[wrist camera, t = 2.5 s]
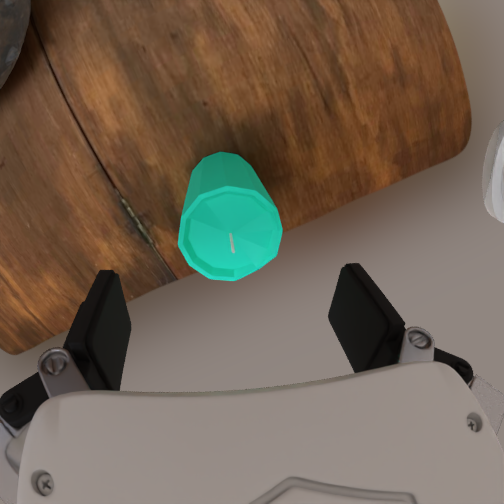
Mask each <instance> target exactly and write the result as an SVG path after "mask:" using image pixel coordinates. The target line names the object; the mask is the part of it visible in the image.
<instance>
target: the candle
mask: <svg viewBox="0 0 504 504" xmlns="http://www.w3.org/2000/svg"><path fill="white" fill-rule="evenodd" d="M282 232H283V229H282V225H281V222H280V218H279V214H278V210H277V208H276V206H275V204H274V203H273V201H272V199H271V198H270V196H269V194H268V193H267V191H266V189H265V188H264V186H263V184H262V183H261V181H260V179H259V178H258V176H257V174H256V173H255V171H254V169H253V168H252V166H251V165H250V164H249V163H247V162H246V161H245V160H244V159H243V158H242V157H240V156H239V155H238V154H232V153H226V152H218V153H215V154H212V155H209V156H207V157H204V158H203V159H202V160H201V161H200V162H199V164H198V165H197V166H196V167H195V168H194V170H193V171H192V174H191V178H190V182H189V186H188V190H187V194H186V198H185V203H184V207H183V211H182V216H181V222H180V230H179V239H178V246H179V248H180V250H181V252H182V253H183V255H184V257H185V259H186V261H187V262H188V264H189V266H191V267H192V268H194V269H195V270H197V271H198V272H200V273H201V274H203V275H204V276H206V277H207V278H209V279H214V280H215V279H216V280H228V281H236V280H238V279H240V278H242V277H245V276H247V275H249V274H251V273H253V272H255V271H257V270H259V269H260V268H261V267H263V266H264V265H265V264H267V263H268V262H269V261H271V260H272V259H273V258H274V257H276V256H277V253H278V249H279V244H280V240H281V236H282Z"/></svg>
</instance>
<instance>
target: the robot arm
mask: <svg viewBox="0 0 504 504" xmlns="http://www.w3.org/2000/svg"><path fill="white" fill-rule="evenodd" d="M501 191H502V198H503V202H504V167H503V172H502V181H501ZM328 318H329V321H330V324H331V325H332V328H333V330H334V332H335V333H336V336H337V338H338V340H339V342H340V344H341V346H342V348H343V350H344V352H345V354H346V356H347V358H348V360H349V362H350V364H351V366H352V368H353V370H354V372H355V373H354V374H349V375H345V376H339V377H335V378H329V379H324V380H317V381H311V382H305V383H298V384H292V385H283V386H275V387H266V388H257V389H245V390H234V391H233V390H232V391H214V392H131V391H120V385H121V379H122V373H123V367H124V362H125V357H126V351H127V347H128V342H129V337H130V333H131V321H130V317H129V314H128V310H127V306H126V303H125V299H124V295H123V291H122V287H121V282H120V278H119V275H118V274H117V273H115V272H114V271H113V270H100V271H99V272H98V274H97V277H96V279H95V281H94V283H93V285H92V287H91V289H90V291H89V293H88V295H87V298H86V300H85V301H84V302H82V304H81V305H80V307H79V310H78V312H77V314H76V316H75V319H74V321H73V323H72V326H71V328H70V331H69V333H68V336H67V338H66V341H65V343H64V346H63V348H60V347H55V348H51V349H48V350H47V351H46V352H44V353H43V354H42V355H41V356H40V359H39V361H38V365H37V367H38V372H37V373H35V374H34V375H32V376H31V377H29V378H27V379H26V380H24V381H22V382H21V383H19V384H18V385H16V386H14V387H13V388H11V389H9V390H8V391H6V392H5V393H4V394H3V395H2V396H1V398H0V498H1V499H2V501H3V502H4V503H5V504H504V452H503V449H502V447H501V445H500V442H499V440H498V438H497V433H498V431H499V428H500V425H501V422H502V419H503V416H504V395H503V394H502V393H501V392H500V391H499V390H497V389H496V388H494V387H493V386H492V385H490V384H489V383H488V382H486V381H485V380H484V379H482V378H481V377H479V376H478V375H475V377H474V376H473V370H472V368H471V366H470V364H469V363H468V362H467V361H465V360H463V359H462V358H459V357H457V356H454V355H452V354H449V353H447V352H445V351H442V350H440V349H437V348H435V347H434V339H433V337H432V336H431V334H430V333H429V332H427V331H426V330H424V329H422V328H419V327H410V328H408V329H407V330H406V329H405V327H404V325H405V322H404V321H403V319H402V318H401V317H400V315H399V314H398V313H397V311H396V310H395V309H394V307H393V306H392V304H391V303H390V302H389V301H388V299H387V298H386V297H385V295H384V294H383V293H382V291H381V290H380V289H379V288H378V286H377V285H376V284H375V283H374V281H373V280H372V279H371V277H370V276H369V275H368V274H367V272H366V271H365V270H364V269H363V267H362V266H361V265H360V264H359V263H352V264H351V263H350V264H346V265H345V267H342V269H341V271H340V275H339V279H338V282H337V286H336V290H335V293H334V297H333V300H332V304H331V307H330V310H329V314H328Z"/></svg>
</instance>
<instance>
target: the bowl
mask: <svg viewBox="0 0 504 504" xmlns="http://www.w3.org/2000/svg"><path fill="white" fill-rule="evenodd" d="M30 11H31V4H30V0H0V89H1V88H2V86H3V85H4V83H5V81H6V80H7V78H8V76H9V74H10V72H11V71H12V69H13V67H14V65H15V64H16V61H17V59H18V57H19V54H20V52H21V48H22V45H23V42H24V38H25V35H26V31H27V27H28V23H29V17H30Z"/></svg>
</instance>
